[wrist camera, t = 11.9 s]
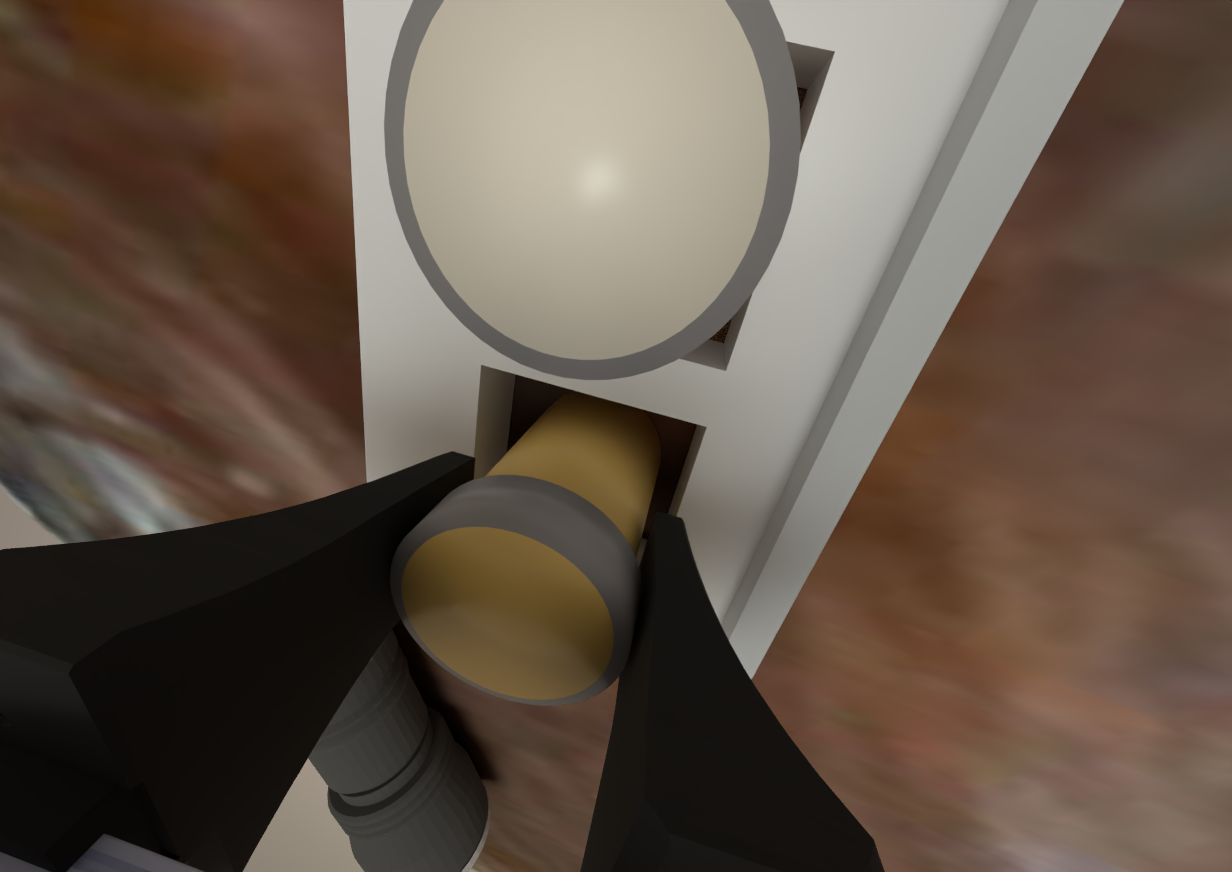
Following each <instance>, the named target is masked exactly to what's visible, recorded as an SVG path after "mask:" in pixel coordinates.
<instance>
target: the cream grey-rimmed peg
mask: <svg viewBox="0 0 1232 872" xmlns="http://www.w3.org/2000/svg"><path fill="white" fill-rule="evenodd" d="M384 138H385V157H386V164H387V171H388V178H389V185H390V189H391V193H392V197H393V201H394V205H395V209H396V213H397V216H398V219H399V221H400V224H401V227H402V230H403V233H404V236H405V238H406V241H407V243H408V245H409V247H410V249H411V251H412V253H413V256H414V258H415V260H416V262H417V264H418V266H419V267H420V269H421V271H422V272H423V274H424V276H425V277H426V279H427V281H428V282H429V284H430V286H431V287H432V288H433V290H434V291H435V292H436V294H437V295H438V296H439V298H440V299H441V300H442V302H443V303H444V304H445V306H446V307H447V308H448V309H449V310H450V311H451V312H452V313H453V314H454V315H455V317H456V318H457V319H458V320H459V321H460V322H461V323H462V324H463V325H464V326H465V327H466V328H468V329H469V330H470V331H471V332H472V333H473V334H474V335H476V336H477V337H478V338H479V339H480V340H481V341H483V342H484V343H486V344H487V345H489V346H490V347H492V348H493V349H495V350H496V351H498V352H499V353H500V354H502V355H504V356H506V357H508V358H510V359H512V360H514V361H516V362H518V363H519V364H522V365H524V366H527V367H529V368H532V369H535V370H537V371H540V372H543V373H547V374H551V375H555V376H559V377H563V378H571V379H580V380H611V379H618V378H625V377H631V376H635V375H638V374H642V373H646V372H649V371H653V370H655V369H657V368H660V367H662V366H665V365H667V364H669V363H672V362H674V361H676V360H678V359H679V358H681V357H683V356H684V355H686V354H688V353H690V352H691V351H693V350H695V349H696V348H698V347H699V346H700V345H702V344H703V343H704V342H705V341H707V340H708V339H709V338H711V337H712V336H713V335H715V334H716V333H717V332H718V331H719V330H720V329H721V328H722V327H723V326H724V325H725V324H726V323H727V322H728V321H729V320H730V319H731V318H732V317H733V316H734V315H735V314H736V313H737V312H738V310H739V309H740V308H741V307H742V305H743V304H744V303H745V301H746V300H747V299H748V298H749V296H750V295H751V294H752V293H753V291H754V289H755V288H756V286H757V285H758V283H759V281H760V280H761V278H762V276H763V275H764V273H765V272H766V270H767V268H768V267H769V264H770V262H771V260H772V258H773V256H774V254H775V251H776V249H777V247H778V245H779V243H780V240H781V238H782V235H783V232H784V229H785V226H786V223H787V220H788V217H789V214H790V211H791V207H792V202H793V197H794V192H795V187H796V182H797V177H798V169H799V156H800V144H801V130H800V104H799V98H798V91H797V85H796V79H795V73H794V67H793V63H792V60H791V57H790V53H789V50H788V46H787V43H786V40H785V36H784V33H783V30H782V28H781V26H780V23H779V21H778V19H777V17H776V14H775V12H774V10H773V8H772V6H771V3H770V1H769V0H413V2H412V4H411V6H410V9H409V11H408V13H407V16H406V18H405V20H404V23H403V25H402V27H401V30H400V33H399V37H398V40H397V44H396V47H395V50H394V54H393V57H392V61H391V66H390V72H389V78H388V84H387V89H386V100H385V115H384Z"/></svg>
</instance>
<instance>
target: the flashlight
mask: <svg viewBox="0 0 1232 872" xmlns="http://www.w3.org/2000/svg"><path fill="white" fill-rule="evenodd" d="M308 758H309V760H310V761H311V763H312V764H313V765H314V767H315V768H316V769H317V771H318V772H319V774H320V775H321V776H322V778H323V779H324V781H325V782H326V784H327V785H328V786H329V787H328V806H329V809H330V812H331V813H332V815H333V816H334V818H335V819H336V820H337V822H338V823H339V824H340V826H341V827H342V829H343V830H344V831H345V833H346V834H347V835H349V838H350V843H351V848H352V852H353V854H354V857H355V859H356V860H357V862H358V863H359V865H360V866H361V867H362V869H363V870H364V871H365V872H469V870H470V869H471V868H472V866H473V865H474V863H475V861H476V860H477V858H478V856H479V854H480V852H481V850H482V848H483V846H484V843H485V840H486V837H487V834H488V830H489V826H490V819H491V804H490V799H489V796H488V793H487V791H486V788H485V786H484V785H483V783H482V781H481V779H480V777H479V775H478V773H477V771H476V769H475V767H474V765H473V763H472V761H471V759H470V757H469V755H468V753H467V752H466V750H465V749H464V748H463V747H462V746H461V745H459V744H458V743H457V742H456V741H454V738H453V736H452V733H451V732H450V730H449V728H448V725H447V724H446V722H445V720H444V718H443V716H442V715H441V714H440V713H439V712H438V711H437V710H435V709H434V708H431V707H429V706H426V704H425V703H424V701H423V699H422V697H421V695H420V693H419V691H418V689H417V687H416V685H415V683H414V681H413V679H412V678H411V676H410V674H409V667H408V662H407V659H406V657H405V656H404V654H403V652H402V649H401V647H400V646H399V645H398V641H397V638H396V635H395V633H394V631H393V630H391V631H390V633H389V634H388V635H387V637H386V638H385V639H384V641H383V642H382V643H381V645H380V646H379V647H378V649H377V650H376V652H375V653H374V655H373V656H372V658H371V659H370V661H369V662H368V664H367V665H366V667H365V668H364V670H363V671H362V673H361V674H360V676H359V677H358V679H357V680H356V682H355V683H354V685H353V686H352V688H351V689H350V691H349V693H348V694H347V696H346V697H345V699H344V700H343V702H342V704H341V705H340V707H339V708H338V710H337V712H336V713H335V715H334V716H333V718H332V719H331V721H330V723H329V724H328V726H327V727H326V729H325V731H324V732H323V734H322V735H321V737H320V739H319V740H318V742H317V744H316V745H315V747H314V749H313V750H312V752H311V754H310V755H309V757H308Z"/></svg>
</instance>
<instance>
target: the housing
mask: <svg viewBox="0 0 1232 872" xmlns="http://www.w3.org/2000/svg"><path fill="white" fill-rule="evenodd" d="M769 1H770V3H771V6H772V8H773V10H774V12H775V14H776V17H777V19H778V21H779V23H780V26H781V28H782V30H783V33H784V36H785V40H786V43H787V46H788V50H789V53H790V57H791V60H792V63H793V67H794V73H795V79H796V85H797V87H799V88H804V89H807V92H806V95H805V98H804V101H803V104H802V107H801V110H800V130H801V144H800V156H799V169H798V177H797V182H796V187H795V192H794V197H793V202H792V207H791V211H790V214H789V217H788V220H787V223H786V226H785V229H784V232H783V235H782V238H781V240H780V243H779V245H778V247H777V249H776V251H775V254H774V256H773V258H772V260H771V262H770V264H769V267H768V268H767V270H766V272H765V273H764V275H763V276H762V278H761V280H760V281H759V283H758V285H757V286H756V288H755V289H754V291H753V293H752V294H751V295H750V296H749V298H748V299H747V300H746V301H745V303H744V304H743V305H742V307H741V308H740V309H739V310H738V312H737V313H736V314H735V315H734V316H733V317H732V320H731V323H730V326H729V329H728V332H727V335H726V338H725V341H724V343H721V342H717V341H713V340H710V339H708V340H707V341H705V342H704V343H703V344H702V345H700V346H699V347H698V348H696V349H695V350H693V351H691V352H690V353H688V354H686V355H684V356H683V357H681V358H679V359H678V360H676V361H674V362H672V363H669V364H667V365H665V366H662V367H660V368H657V369H655V370H653V371H649V372H646V373H642V374H638V375H635V376H631V377H625V378H618V379H611V380H580V379H571V378H563V377H559V376H555V375H551V374H547V373H543V372H540V371H537V370H535V369H532V368H529V367H527V366H524V365H522V364H519V363H518V362H516V361H514V360H512V359H510V358H508V357H506V356H504V355H502V354H500V353H499V352H498V351H496V350H495V349H493V348H492V347H490V346H489V345H487V344H486V343H484V342H483V341H481V340H480V339H479V338H478V337H477V336H476V335H474V334H473V333H472V332H471V331H470V330H469V329H468V328H466V327H465V326H464V325H463V324H462V323H461V322H460V321H459V320H458V319H457V318H456V317H455V315H454V314H453V313H452V312H451V311H450V310H449V309H448V308H447V307H446V306H445V304H444V303H443V302H442V300H441V299H440V298H439V296H438V295H437V294H436V292H435V291H434V290H433V288H432V287H431V286H430V284H429V282H428V281H427V279H426V277H425V276H424V274H423V272H422V271H421V269H420V267H419V266H418V264H417V262H416V260H415V258H414V256H413V253H412V251H411V249H410V247H409V245H408V243H407V241H406V238H405V236H404V233H403V230H402V227H401V224H400V221H399V219H398V216H397V213H396V209H395V205H394V201H393V197H392V193H391V189H390V185H389V178H388V171H387V164H386V157H385V138H384V115H385V100H386V89H387V84H388V78H389V72H390V66H391V61H392V57H393V54H394V50H395V47H396V44H397V40H398V37H399V33H400V30H401V27H402V25H403V23H404V20H405V18H406V16H407V13H408V11H409V9H410V6H411V4H412V2H413V0H343V2H344V23H345V43H346V64H347V85H348V105H349V126H350V146H351V167H352V187H353V208H354V228H355V249H356V270H357V290H358V311H359V331H360V352H361V372H362V393H363V413H364V434H365V454H366V475H367V483H368V482H371V481H374V480H376V479H379V478H382V477H384V476H387V475H390V474H392V473H395V472H397V471H400V470H403V469H405V468H408V467H410V466H413V465H415V464H418V463H421V462H423V461H426V460H428V459H431V458H433V457H436V456H439V455H442V454H444V453H448V452H451V451H454V452H457V453H461V454H464V455H468V456H471V457H474V458H475V470H474V480H475V479H478V478H482V477H485V476H486V475H487V474H488V473H489V472H490V471H491V469H492V468H493V467H494V466H495V465H496V464H497V463H498V462H499V461H500V460H501V459H502V458H503V456H504V455H505V454H506V453H507V445H508V437H509V428H510V420H511V411H512V403H513V394H514V385H515V377H516V375H520V376H523V377H527V378H531V379H534V380H538V381H542V382H545V383H549V384H552V385H556V386H560V387H563V388H567V389H571V390H574V391H578V392H581V393H585V394H589V395H592V396H596V397H600V398H603V399H607V400H610V401H614V402H618V403H621V404H625V405H629V406H632V407H636V408H639V409H643V410H647V411H650V412H654V413H658V414H661V415H665V416H668V417H672V418H676V419H679V420H683V421H687V422H690V423H694V424H697V426H696V430H695V433H694V436H693V439H692V442H691V445H690V448H689V451H688V454H687V457H686V460H685V463H684V466H683V469H682V472H681V475H680V478H679V481H678V484H677V487H676V490H675V493H674V496H673V499H672V503H671V506H670V509H669V512H668V514H670V515H673V516H677V517H680V518H682V519H683V521H684V523H685V527H686V531H687V535H688V539H689V543H690V546H691V550H692V553H693V556H694V559H695V562H696V565H697V568H698V571H699V573H700V576H701V579H702V581H703V584H704V587H705V589H706V592H707V594H708V597H709V599H710V601H711V604H712V606H713V608H714V610H715V613H716V615H717V617H718V619H719V622H720V624H721V626H722V628H723V630H724V632H725V634H726V636H727V638H728V640H729V642H730V644H731V645H732V647H733V649H734V651H735V653H736V655H737V656H738V658H739V660H740V662H741V664H742V665H743V667H744V669H745V670H746V672H747V674H748V675H749V677H750V679H752V677H753V676H754V674H755V672H756V670H757V668H758V666H759V665H760V663H761V661H762V659H763V657H764V655H765V654H766V652H767V650H768V648H769V646H770V645H771V643H772V641H773V639H774V637H775V635H776V634H777V632H778V630H779V628H780V626H781V625H782V623H783V621H784V619H785V617H786V615H787V614H788V612H789V610H790V608H791V606H792V604H793V603H794V601H795V599H796V597H797V595H798V594H799V592H800V590H801V588H802V586H803V584H804V583H805V581H806V579H807V577H808V575H809V574H810V572H811V570H812V568H813V566H814V564H815V563H816V561H817V559H818V557H819V555H820V553H821V552H822V550H823V548H824V546H825V544H826V543H827V541H828V539H829V537H830V535H831V533H832V532H833V530H834V528H835V526H836V524H837V522H838V521H839V519H840V517H841V515H842V513H843V512H844V510H845V508H846V506H847V504H848V502H849V501H850V499H851V497H852V495H853V493H854V492H855V490H856V488H857V486H858V484H859V482H860V481H861V479H862V477H863V475H864V473H865V471H866V470H867V468H868V466H869V464H870V462H871V461H872V459H873V457H874V455H875V453H876V451H877V450H878V448H879V446H880V444H881V442H882V441H883V439H884V437H885V435H886V433H887V431H888V430H889V428H890V426H891V424H892V422H893V420H894V419H895V417H896V415H897V413H898V411H899V410H900V408H901V406H902V404H903V402H904V400H905V399H906V397H907V395H908V393H909V391H910V390H911V388H912V386H913V384H914V382H915V380H916V379H917V377H918V375H919V373H920V371H921V369H922V368H923V366H924V364H925V362H926V360H927V359H928V357H929V355H930V353H931V351H932V349H933V348H934V346H935V344H936V342H937V340H938V338H939V337H940V335H941V333H942V331H943V329H944V328H945V326H946V324H947V322H948V320H949V318H950V317H951V315H952V313H953V311H954V309H955V308H956V306H957V304H958V302H959V300H960V298H961V297H962V295H963V293H964V291H965V289H966V287H967V286H968V284H969V282H970V280H971V278H972V277H973V275H974V273H975V271H976V269H977V267H978V266H979V264H980V262H981V260H982V258H983V257H984V255H985V253H986V251H987V249H988V247H989V246H990V244H991V242H992V240H993V238H994V236H995V235H996V233H997V231H998V229H999V227H1000V226H1001V224H1002V222H1003V220H1004V218H1005V216H1006V215H1007V213H1008V211H1009V209H1010V207H1011V206H1012V204H1013V202H1014V200H1015V198H1016V196H1017V195H1018V193H1019V191H1020V189H1021V187H1022V185H1023V184H1024V182H1025V180H1026V178H1027V176H1028V175H1029V173H1030V171H1031V169H1032V167H1033V165H1034V164H1035V162H1036V160H1037V158H1038V156H1039V154H1040V153H1041V151H1042V149H1043V147H1044V145H1045V144H1046V142H1047V140H1048V138H1049V136H1050V134H1051V133H1052V131H1053V129H1054V127H1055V125H1056V124H1057V122H1058V120H1059V118H1060V116H1061V114H1062V113H1063V111H1064V109H1065V107H1066V105H1067V103H1068V102H1069V100H1070V98H1071V96H1072V94H1073V93H1074V91H1075V89H1076V87H1077V85H1078V83H1079V82H1080V80H1081V78H1082V76H1083V74H1084V73H1085V71H1086V69H1087V67H1088V65H1089V63H1090V62H1091V60H1092V58H1093V56H1094V54H1095V52H1096V51H1097V49H1098V47H1099V45H1100V43H1101V42H1102V40H1103V38H1104V36H1105V34H1106V32H1107V31H1108V29H1109V27H1110V25H1111V23H1112V22H1113V20H1114V18H1115V16H1116V14H1117V12H1118V11H1119V9H1120V7H1121V5H1122V3H1123V1H1124V0H769ZM646 543H647V539H645V538H641V541H640V545H639V549H638V553H637V557H636V559H637V562H638V566H639V565H640V562H641V559H642V555H643V552H644V549H645V546H646Z"/></svg>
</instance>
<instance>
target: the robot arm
mask: <svg viewBox="0 0 1232 872" xmlns="http://www.w3.org/2000/svg"><path fill="white" fill-rule="evenodd" d="M474 470H475V458H474V457H471V456H468V455H464V454H461V453H457V452H454V451H451V452H448V453H444V454H442V455H439V456H436V457H433V458H431V459H428V460H426V461H423V462H421V463H418V464H415V465H413V466H410V467H408V468H405V469H403V470H400V471H397V472H395V473H392V474H390V475H387V476H384V477H382V478H379V479H376V480H374V481H371V482H368V483H365V484H362V485H359V486H356V487H353V488H350V489H347V490H344V491H341V492H339V493H336V494H333V495H330V496H327V497H323V498H320V499H317V500H313V501H310V502H306V503H303V504H299V505H295V506H292V507H288V508H284V509H280V510H276V511H272V512H268V513H264V514H260V515H255V516H250V517H245V518H240V519H235V520H230V521H225V522H220V523H215V524H210V525H205V526H200V527H194V528H188V529H182V530H175V531H169V532H163V533H156V534H148V535H141V536H134V537H126V538H118V539H109V540H101V541H90V542H80V543H69V544H58V545H47V546H37V547H26V548H11V549H2V550H0V872H243V870H244V868H245V866H246V864H247V863H248V861H249V859H250V857H251V855H252V853H253V852H254V850H255V848H256V846H257V845H258V843H259V841H260V839H261V838H262V836H263V834H264V832H265V831H266V829H267V827H268V825H269V824H270V822H271V820H272V818H273V817H274V815H275V813H276V811H277V809H278V808H279V806H280V804H281V802H282V801H283V799H284V797H285V795H286V794H287V792H288V790H289V789H290V787H291V785H292V784H293V782H294V780H295V779H296V777H297V775H298V774H299V772H300V770H301V769H302V767H303V765H304V764H305V762H306V760H307V759H308V757H309V755H310V754H311V752H312V750H313V749H314V747H315V745H316V744H317V742H318V740H319V739H320V737H321V735H322V734H323V732H324V731H325V729H326V727H327V726H328V724H329V723H330V721H331V719H332V718H333V716H334V715H335V713H336V712H337V710H338V708H339V707H340V705H341V704H342V702H343V700H344V699H345V697H346V696H347V694H348V693H349V691H350V689H351V688H352V686H353V685H354V683H355V682H356V680H357V679H358V677H359V676H360V674H361V673H362V671H363V670H364V668H365V667H366V665H367V664H368V662H369V661H370V659H371V658H372V656H373V655H374V653H375V652H376V650H377V649H378V647H379V646H380V645H381V643H382V642H383V641H384V639H385V638H386V637H387V635H388V634H389V633H390V631H391V630H392V629H393V628H394V626H395V625H396V624H397V623H398V622H399V620H400V619H401V618H400V616H399V614H398V612H397V609H396V607H395V604H394V601H393V597H392V593H391V585H390V570H391V564H392V560H393V556H394V554H395V552H396V550H397V548H398V546H399V545H400V543H401V542H402V540H403V539H404V538H405V536H406V535H408V534H409V533H410V532H411V531H412V530H413V529H414V528H415V527H416V526H417V525H418V524H419V523H420V522H421V521H422V520H423V519H424V518H425V517H426V516H427V515H428V514H429V513H430V512H431V511H432V510H433V509H434V508H435V507H436V506H437V505H438V504H439V503H440V502H441V501H442V500H443V499H444V498H445V497H446V496H447V495H448V494H449V493H450V492H451V491H453V490H454V489H456V488H457V487H459V486H460V485H463V484H465V483H467V482H469V481H472V480H474ZM639 569H640V573H641V581H642V596H641V602H640V607H639V611H638V616H637V620H636V625H635V630H634V634H633V639H632V644H631V648H630V652H629V657H628V660H627V663H626V665H625V667H624V669H623V671H622V672H621V674H620V676H619V684H618V692H617V699H616V707H615V713H614V719H613V725H612V730H611V735H610V740H609V744H608V749H607V754H606V758H605V763H604V768H603V772H602V777H601V781H600V786H599V791H598V795H597V800H596V804H595V809H594V813H593V818H592V822H591V827H590V831H589V836H588V840H587V845H586V849H585V854H584V858H583V863H582V867H581V872H885V871H884V869H883V866H882V863H881V860H880V858H879V855H878V851H877V848H876V845H875V842H874V840H873V838H872V837H871V836H870V835H869V834H868V832H867V831H866V830H865V829H864V828H863V827H862V825H861V824H860V823H859V822H858V821H857V819H856V818H855V817H854V816H853V815H852V814H851V812H850V811H849V810H848V809H847V808H846V806H845V805H844V804H843V803H842V802H841V801H840V799H839V798H838V797H837V796H836V795H835V794H834V792H833V791H832V790H831V789H830V788H829V786H828V785H827V784H826V783H825V782H824V781H823V779H822V778H821V777H820V776H819V775H818V773H817V772H816V771H815V769H814V768H813V767H812V766H811V764H810V763H809V762H808V760H807V759H806V758H805V756H804V755H803V754H802V752H801V751H800V750H799V749H798V747H797V746H796V745H795V743H794V742H793V741H792V739H791V738H790V737H789V735H788V734H787V733H786V731H785V730H784V728H783V727H782V726H781V724H780V723H779V721H778V720H777V718H776V717H775V715H774V714H773V712H772V711H771V709H770V708H769V706H768V705H767V703H766V702H765V700H764V699H763V697H762V696H761V694H760V693H759V691H758V690H757V688H756V687H755V685H754V684H753V682H752V680H751V679H750V677H749V675H748V674H747V672H746V670H745V669H744V667H743V665H742V664H741V662H740V660H739V658H738V656H737V655H736V653H735V651H734V649H733V647H732V645H731V644H730V642H729V640H728V638H727V636H726V634H725V632H724V630H723V628H722V626H721V624H720V622H719V619H718V617H717V615H716V613H715V610H714V608H713V606H712V604H711V601H710V599H709V597H708V594H707V592H706V589H705V587H704V584H703V581H702V579H701V576H700V573H699V571H698V568H697V565H696V562H695V559H694V556H693V553H692V550H691V546H690V543H689V539H688V535H687V531H686V527H685V523H684V521H683V519H682V518H680V517H677V516H673V515H670V514H666V513H663V512H660V511H656V514H655V517H654V520H653V523H652V527H651V530H650V533H649V536H648V539H647V543H646V546H645V549H644V552H643V555H642V559H641V562H640V565H639Z"/></svg>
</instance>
